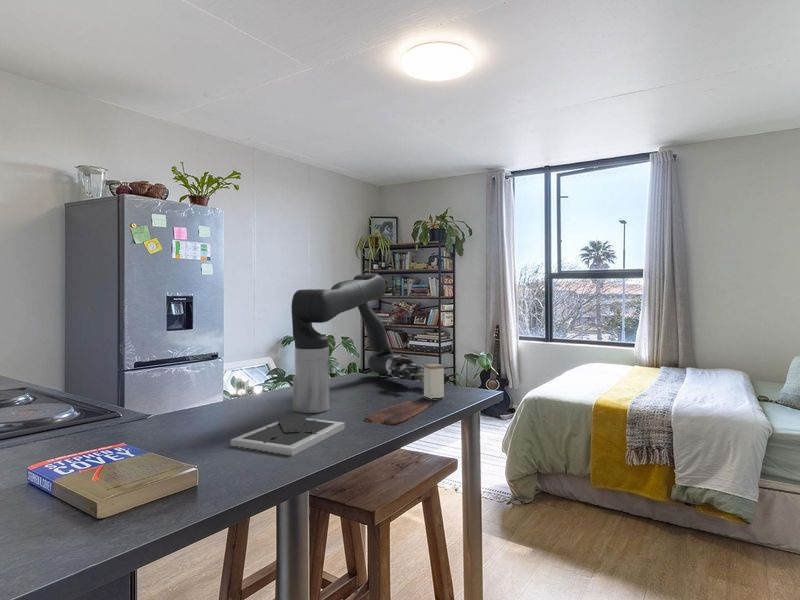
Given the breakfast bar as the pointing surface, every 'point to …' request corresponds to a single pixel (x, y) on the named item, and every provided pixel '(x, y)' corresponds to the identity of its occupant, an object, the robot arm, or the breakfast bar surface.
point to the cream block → (433, 380)
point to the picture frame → (289, 434)
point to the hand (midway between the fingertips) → (420, 373)
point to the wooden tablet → (398, 412)
